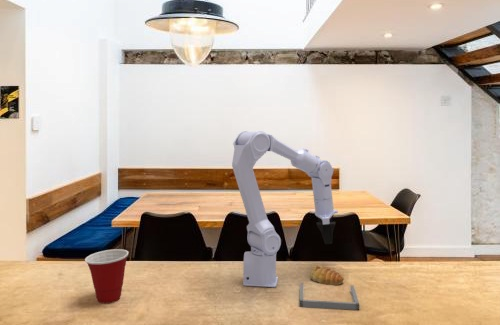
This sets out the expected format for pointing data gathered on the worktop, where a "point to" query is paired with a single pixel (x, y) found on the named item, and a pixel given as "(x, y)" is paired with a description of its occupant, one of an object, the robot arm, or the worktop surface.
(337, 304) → the grey u-shaped bracket
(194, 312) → the worktop surface
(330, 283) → the pastry
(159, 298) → the worktop surface
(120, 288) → the plastic cup
